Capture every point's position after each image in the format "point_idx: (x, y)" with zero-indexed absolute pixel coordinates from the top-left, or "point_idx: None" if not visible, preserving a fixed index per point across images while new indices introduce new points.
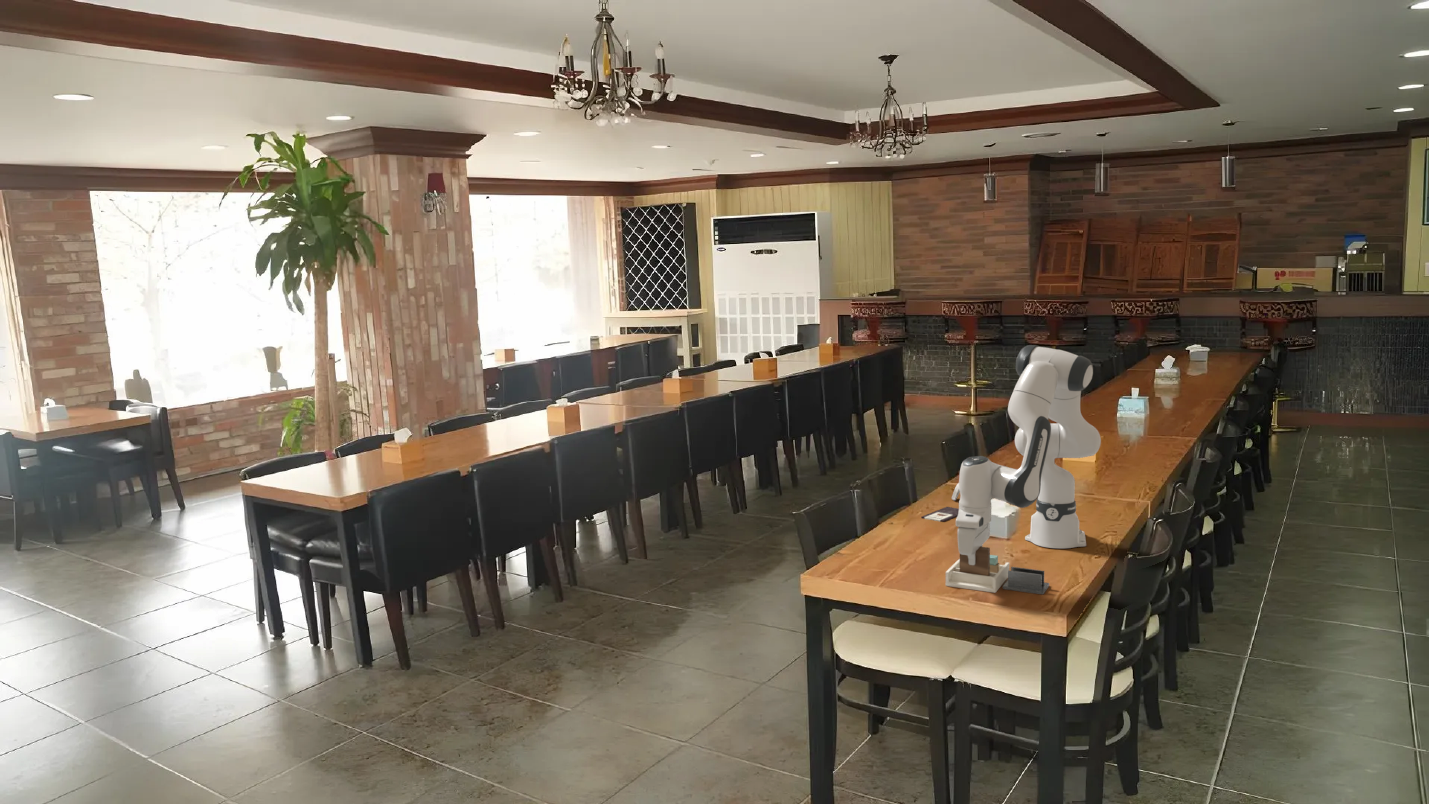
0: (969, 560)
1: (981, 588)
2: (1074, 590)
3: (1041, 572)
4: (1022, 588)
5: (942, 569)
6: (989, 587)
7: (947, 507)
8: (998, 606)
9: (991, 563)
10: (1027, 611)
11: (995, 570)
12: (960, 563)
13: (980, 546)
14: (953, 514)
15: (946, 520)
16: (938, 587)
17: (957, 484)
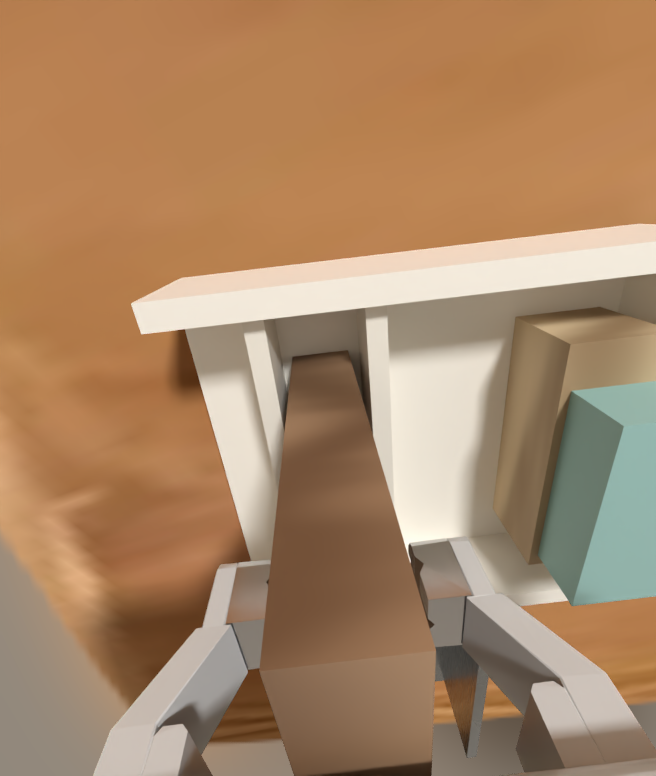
0: (210, 610)
1: (239, 510)
2: (454, 716)
3: (463, 741)
4: None
5: (612, 40)
6: (265, 545)
7: None
8: (87, 618)
9: (549, 543)
10: (126, 692)
11: (511, 529)
12: (287, 439)
13: (524, 759)
14: None
15: None
16: (106, 242)
17: None
